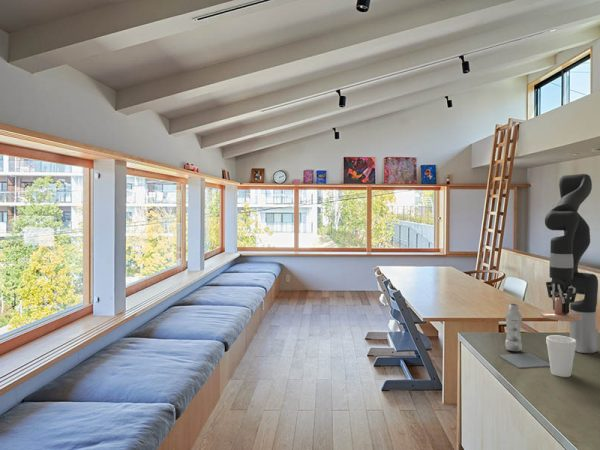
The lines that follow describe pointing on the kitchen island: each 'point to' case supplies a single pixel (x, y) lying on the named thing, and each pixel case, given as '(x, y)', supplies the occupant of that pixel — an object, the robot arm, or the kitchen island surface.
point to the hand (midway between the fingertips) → (560, 311)
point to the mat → (524, 360)
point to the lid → (560, 313)
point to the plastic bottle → (513, 328)
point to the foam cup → (561, 354)
